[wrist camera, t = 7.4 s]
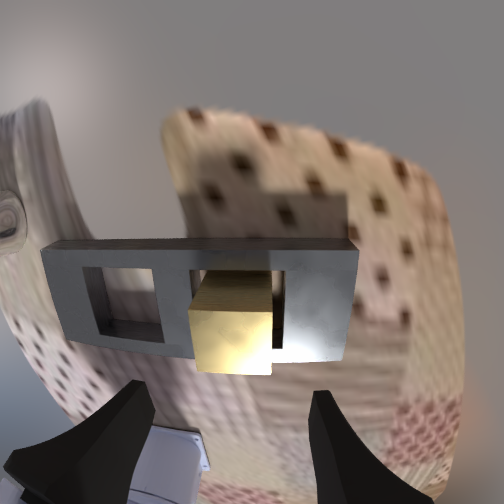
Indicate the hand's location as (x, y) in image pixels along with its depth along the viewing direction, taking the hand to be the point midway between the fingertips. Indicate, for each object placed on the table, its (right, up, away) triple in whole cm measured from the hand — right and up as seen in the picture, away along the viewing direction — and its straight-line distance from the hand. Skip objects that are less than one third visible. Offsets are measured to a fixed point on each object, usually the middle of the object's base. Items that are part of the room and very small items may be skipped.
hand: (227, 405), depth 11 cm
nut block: (0, +4, +9) cm, 9 cm away
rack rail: (-4, +3, +9) cm, 10 cm away
